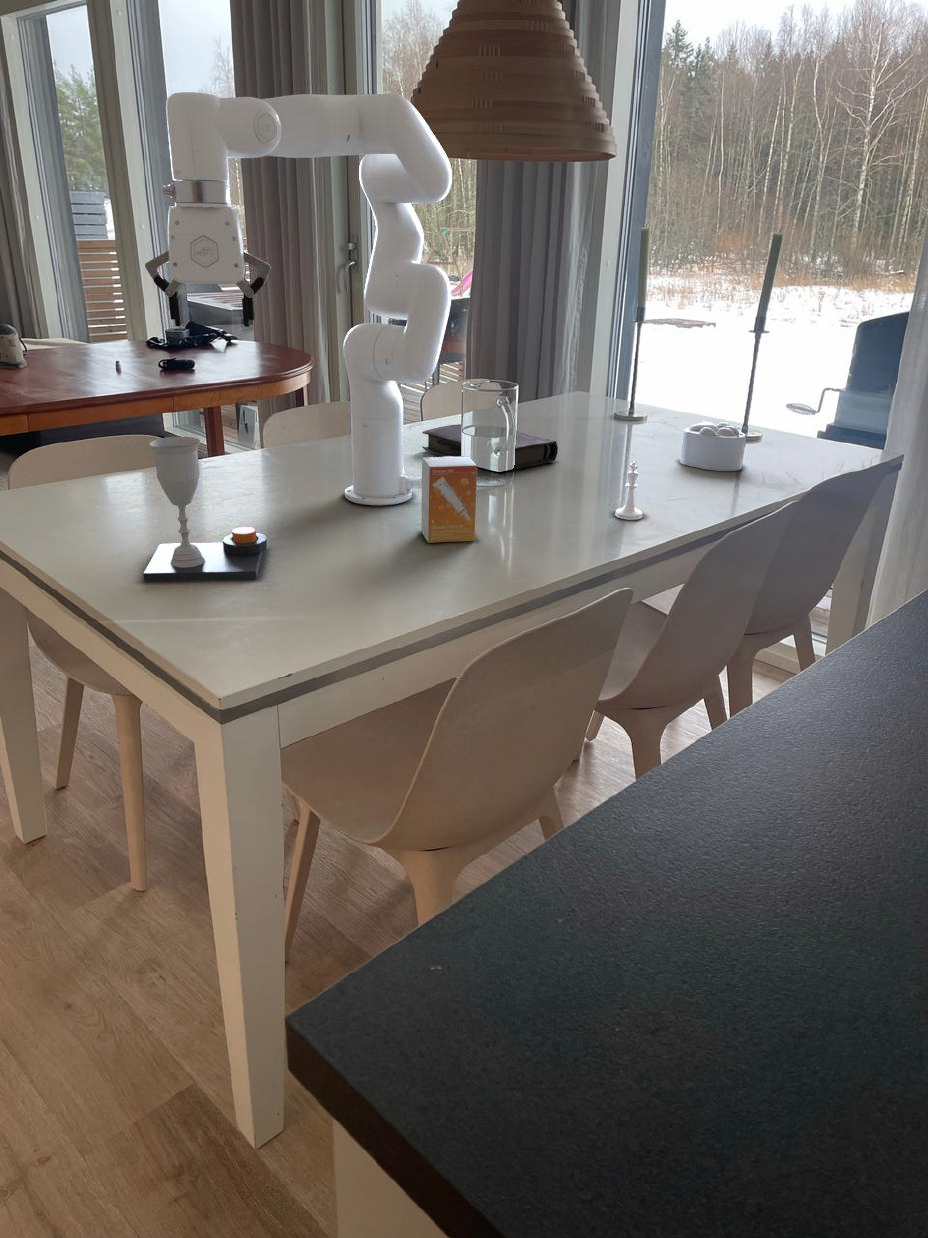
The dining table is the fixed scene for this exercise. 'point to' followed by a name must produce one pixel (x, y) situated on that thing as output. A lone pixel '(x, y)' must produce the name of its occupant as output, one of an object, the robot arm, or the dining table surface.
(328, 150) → the robot arm
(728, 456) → the lumpy-topped squat cylinder
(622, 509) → the chess piece
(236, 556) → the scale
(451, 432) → the diary
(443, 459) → the small box
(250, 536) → the power button
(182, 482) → the chalice
